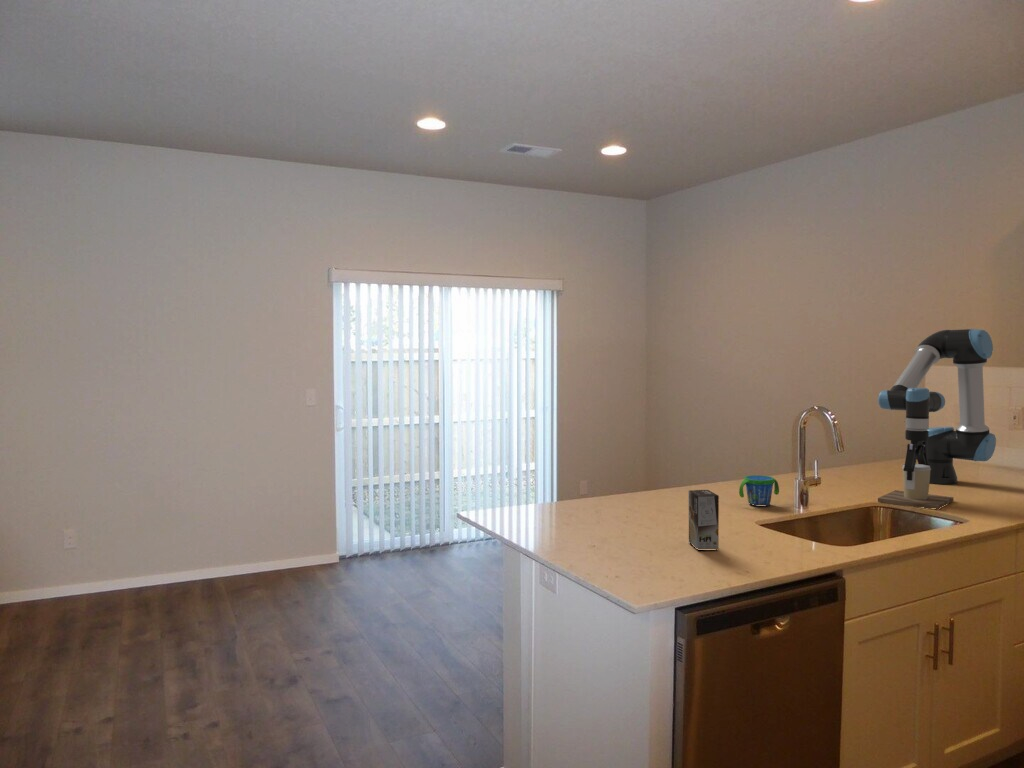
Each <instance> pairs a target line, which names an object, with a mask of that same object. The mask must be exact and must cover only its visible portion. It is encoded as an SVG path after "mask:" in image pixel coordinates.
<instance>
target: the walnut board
mask: <svg viewBox="0 0 1024 768" xmlns="http://www.w3.org/2000/svg"><path fill="white" fill-rule="evenodd" d="M954 500H955V499H954V496H946V495H937V494H931V493H930V494H929V493H928V499H924V500H917V499H909V498H905V497H904V490H899V489H898V490H892V491H891V492H888V493H887V494H884V495H881V496H879V497H877V502H878V503H884V504H890V505H897V506H898V505H899V506H904V507H912V506H913V508H919V507H924V508H923V509H926V508H936V509H939V508H940V507H942V506H944V505H946V504H948V503H950V502H951V503H953V502H954ZM952 501H953V502H952ZM951 503H950V504H951ZM948 505H949V504H948ZM946 506H947V505H946ZM944 507H945V506H944ZM939 510H940V509H939Z"/></svg>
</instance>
